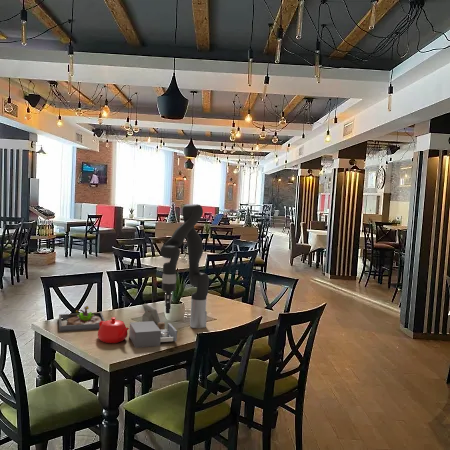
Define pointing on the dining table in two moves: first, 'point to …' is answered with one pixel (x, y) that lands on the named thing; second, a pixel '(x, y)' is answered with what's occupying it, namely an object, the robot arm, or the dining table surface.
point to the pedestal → (161, 325)
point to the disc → (164, 333)
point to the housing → (144, 334)
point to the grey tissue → (150, 314)
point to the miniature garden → (84, 318)
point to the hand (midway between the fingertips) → (168, 311)
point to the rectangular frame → (78, 327)
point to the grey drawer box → (170, 334)
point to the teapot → (112, 331)
